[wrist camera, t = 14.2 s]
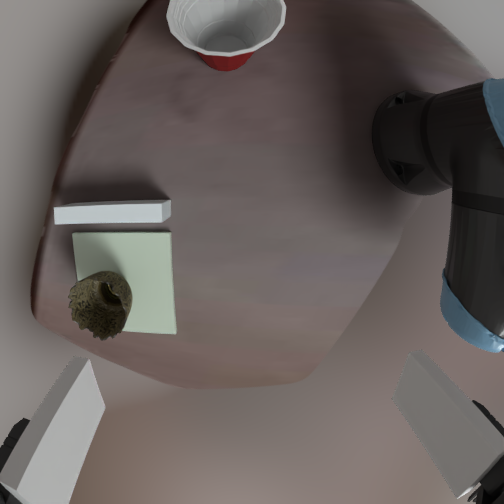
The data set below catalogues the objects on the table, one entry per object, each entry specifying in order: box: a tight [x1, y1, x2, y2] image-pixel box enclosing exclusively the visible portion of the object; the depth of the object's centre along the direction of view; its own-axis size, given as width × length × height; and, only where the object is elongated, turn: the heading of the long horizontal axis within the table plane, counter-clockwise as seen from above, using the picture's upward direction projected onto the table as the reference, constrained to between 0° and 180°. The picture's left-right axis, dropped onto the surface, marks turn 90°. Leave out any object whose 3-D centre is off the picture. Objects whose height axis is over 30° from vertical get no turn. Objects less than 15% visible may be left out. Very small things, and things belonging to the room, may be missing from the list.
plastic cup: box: [166, 0, 286, 71], centre depth 24 cm, size 11×11×12 cm
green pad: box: [72, 232, 177, 334], centre depth 36 cm, size 14×14×1 cm
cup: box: [68, 271, 133, 340], centre depth 31 cm, size 8×7×8 cm
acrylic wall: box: [54, 200, 171, 224], centre depth 31 cm, size 14×2×5 cm, turn 88°
